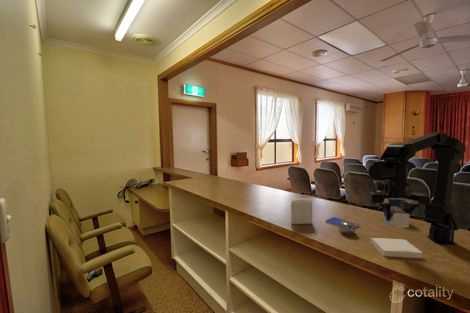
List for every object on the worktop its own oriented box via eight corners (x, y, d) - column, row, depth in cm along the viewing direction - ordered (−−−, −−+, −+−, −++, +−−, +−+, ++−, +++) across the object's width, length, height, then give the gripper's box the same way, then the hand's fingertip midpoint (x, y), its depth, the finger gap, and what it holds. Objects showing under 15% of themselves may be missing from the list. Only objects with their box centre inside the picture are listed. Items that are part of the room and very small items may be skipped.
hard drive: (359, 223, 104) (334, 216, 114) (350, 228, 99) (325, 220, 109) (359, 227, 104) (334, 219, 114) (350, 231, 99) (325, 223, 109)
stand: (404, 244, 85) (404, 239, 85) (422, 258, 75) (422, 252, 75) (370, 242, 87) (371, 237, 87) (383, 256, 77) (384, 250, 77)
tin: (348, 229, 100) (349, 220, 100) (357, 235, 94) (358, 226, 94) (336, 229, 99) (337, 221, 99) (344, 235, 93) (345, 226, 93)
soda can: (399, 217, 113) (400, 194, 112) (401, 222, 107) (402, 198, 106) (383, 215, 117) (384, 193, 116) (384, 219, 111) (385, 196, 110)
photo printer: (292, 224, 106) (292, 199, 105) (290, 221, 111) (290, 197, 110) (313, 224, 106) (313, 199, 105) (310, 221, 111) (310, 197, 110)
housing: (408, 227, 77) (409, 212, 76) (393, 227, 78) (393, 211, 77) (397, 220, 84) (398, 205, 83) (383, 219, 84) (383, 205, 84)
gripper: (412, 175, 86) (410, 214, 87) (360, 174, 89) (359, 212, 90) (432, 180, 75) (430, 225, 76) (373, 179, 78) (371, 223, 79)
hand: (395, 220), depth 80 cm, fingers closed on housing, 5 cm apart
